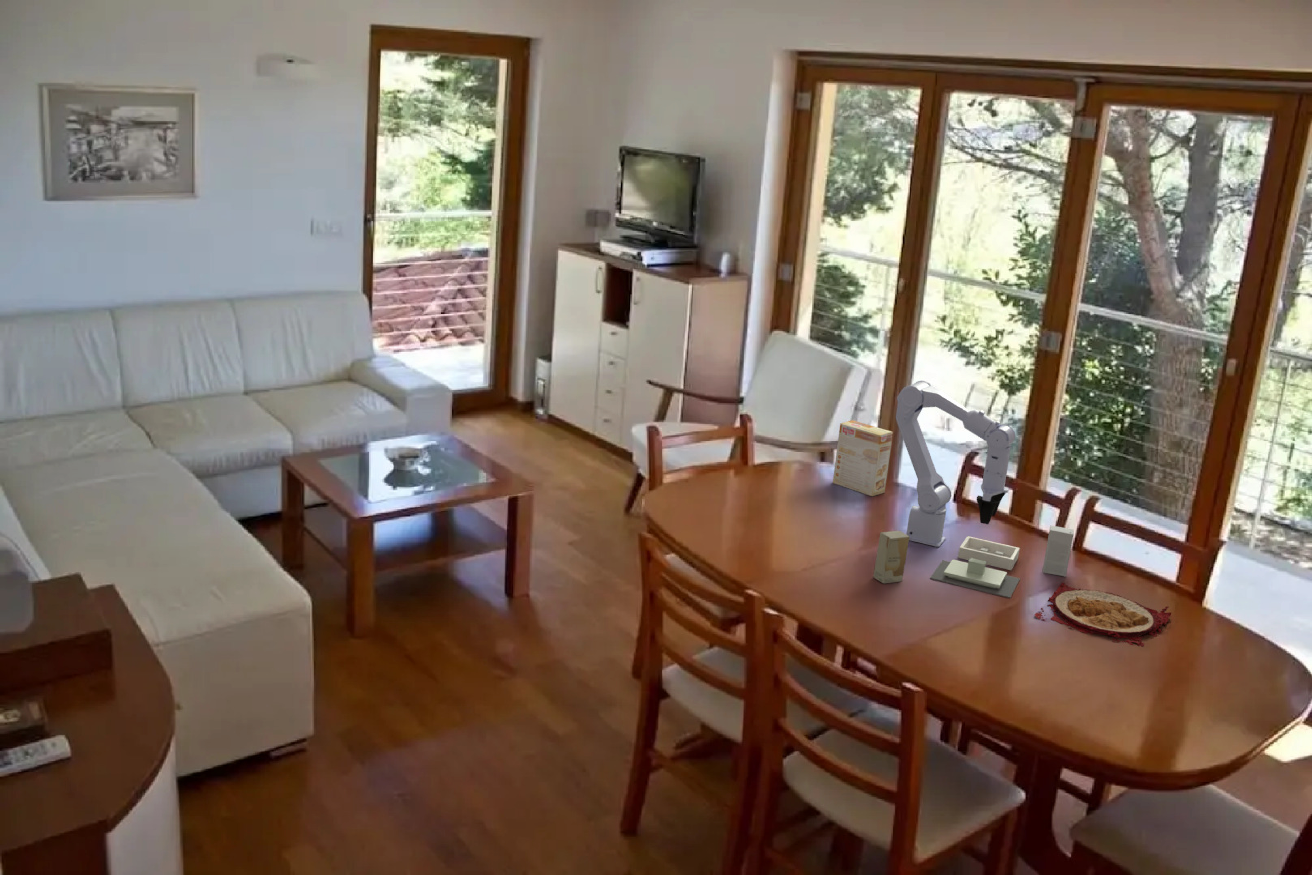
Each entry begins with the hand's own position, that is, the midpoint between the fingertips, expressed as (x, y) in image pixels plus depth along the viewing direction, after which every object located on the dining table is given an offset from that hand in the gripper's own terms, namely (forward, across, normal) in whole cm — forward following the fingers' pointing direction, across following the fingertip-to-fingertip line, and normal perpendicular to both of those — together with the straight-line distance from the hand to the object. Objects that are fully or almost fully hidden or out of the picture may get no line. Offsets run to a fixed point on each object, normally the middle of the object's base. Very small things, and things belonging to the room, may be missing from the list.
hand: (987, 519), depth 322 cm
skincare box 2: (+11, 0, -19) cm, 22 cm away
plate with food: (+11, -22, -34) cm, 42 cm away
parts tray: (+10, -1, -2) cm, 11 cm away
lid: (+9, -18, -2) cm, 20 cm away
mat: (+10, -18, -2) cm, 21 cm away
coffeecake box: (+10, +32, +45) cm, 56 cm away
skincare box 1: (+10, -32, +16) cm, 38 cm away
